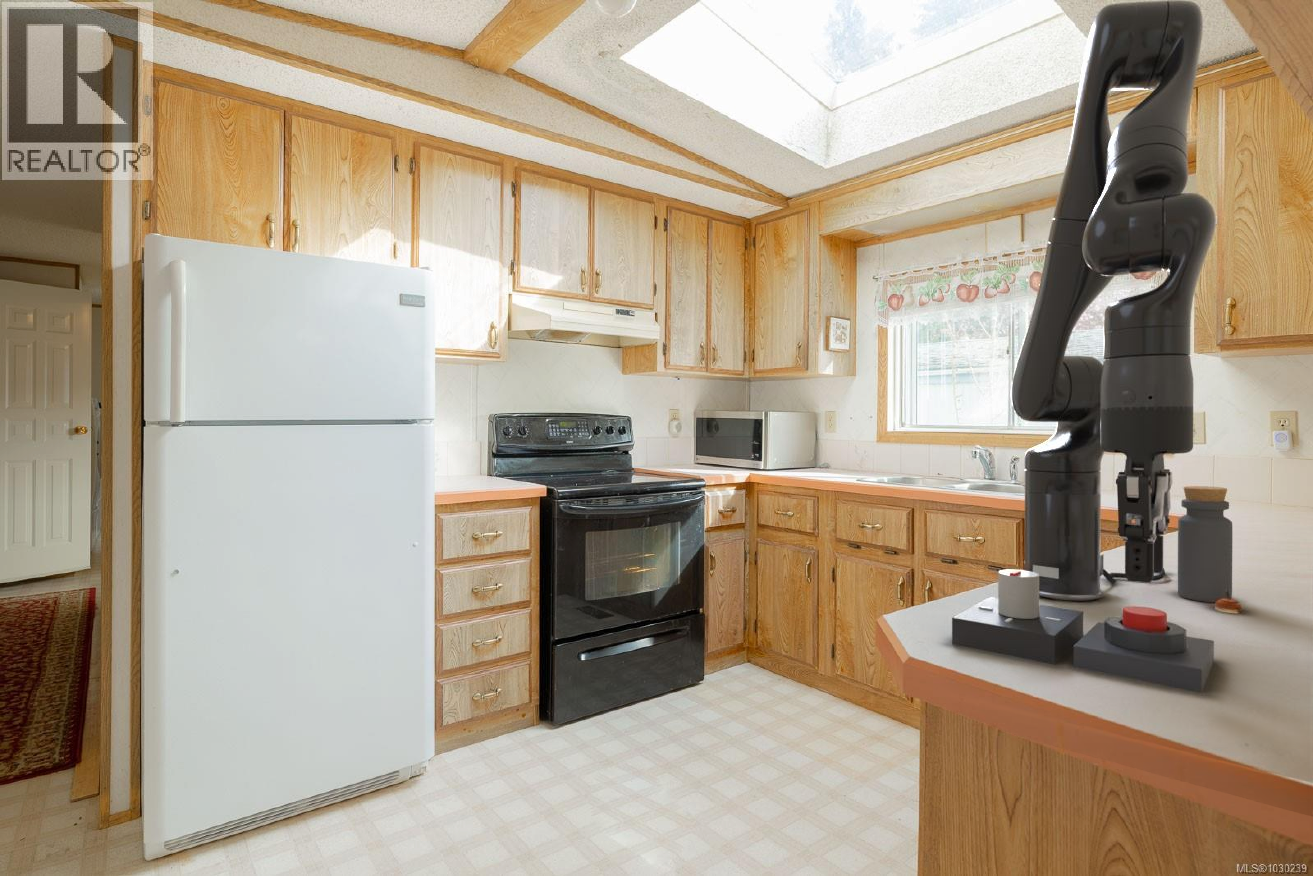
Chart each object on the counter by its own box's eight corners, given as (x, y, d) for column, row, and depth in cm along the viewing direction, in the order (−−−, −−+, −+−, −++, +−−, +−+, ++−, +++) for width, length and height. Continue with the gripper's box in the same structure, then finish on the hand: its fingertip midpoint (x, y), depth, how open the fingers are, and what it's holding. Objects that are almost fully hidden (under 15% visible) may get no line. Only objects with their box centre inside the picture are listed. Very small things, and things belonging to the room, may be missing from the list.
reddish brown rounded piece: (1208, 608, 91) (1208, 587, 90) (1226, 606, 91) (1226, 586, 91) (1231, 614, 88) (1231, 593, 88) (1250, 612, 88) (1250, 591, 88)
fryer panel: (988, 621, 85) (988, 595, 85) (1083, 638, 79) (1083, 609, 79) (951, 645, 77) (951, 616, 77) (1054, 666, 70) (1054, 634, 70)
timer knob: (1005, 607, 80) (1005, 565, 80) (1044, 613, 78) (1044, 570, 77) (992, 614, 78) (992, 570, 77) (1032, 621, 75) (1032, 576, 75)
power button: (1126, 621, 72) (1126, 604, 72) (1169, 627, 70) (1169, 610, 70) (1119, 628, 70) (1119, 611, 70) (1163, 636, 67) (1163, 617, 67)
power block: (1097, 641, 77) (1098, 605, 77) (1213, 662, 70) (1214, 622, 70) (1073, 668, 69) (1073, 627, 69) (1201, 694, 62) (1201, 649, 62)
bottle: (1242, 603, 92) (1242, 489, 92) (1191, 602, 94) (1192, 489, 93) (1216, 593, 98) (1217, 485, 98) (1169, 591, 99) (1169, 485, 99)
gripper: (1183, 402, 61) (1182, 595, 62) (1201, 404, 72) (1200, 569, 72) (1084, 404, 67) (1083, 583, 67) (1115, 406, 77) (1114, 560, 77)
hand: (1144, 575), depth 70 cm, fingers open, 5 cm apart
